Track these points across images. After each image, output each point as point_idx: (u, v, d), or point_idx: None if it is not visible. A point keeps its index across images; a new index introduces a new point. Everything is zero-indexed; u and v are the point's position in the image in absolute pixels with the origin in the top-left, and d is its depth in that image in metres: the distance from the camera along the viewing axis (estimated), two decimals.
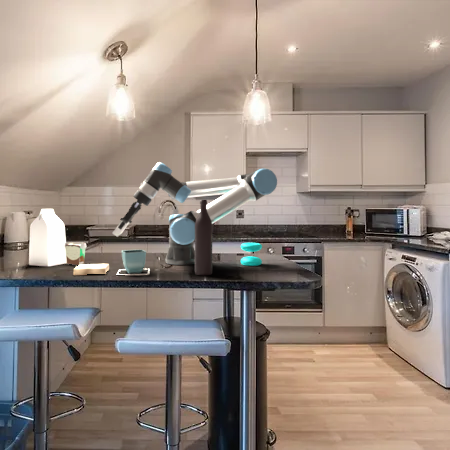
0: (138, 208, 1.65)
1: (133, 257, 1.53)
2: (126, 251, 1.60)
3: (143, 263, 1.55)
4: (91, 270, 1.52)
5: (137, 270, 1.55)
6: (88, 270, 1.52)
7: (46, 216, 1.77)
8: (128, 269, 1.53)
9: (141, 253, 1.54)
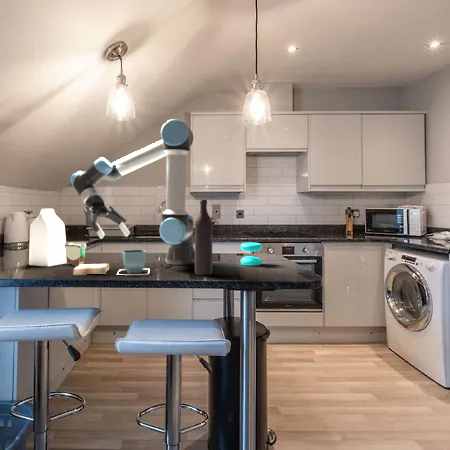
0: (96, 209, 1.65)
1: (133, 257, 1.53)
2: (126, 251, 1.60)
3: (143, 263, 1.55)
4: (91, 270, 1.52)
5: (137, 270, 1.55)
6: (88, 270, 1.52)
7: (46, 216, 1.77)
8: (128, 269, 1.53)
9: (141, 253, 1.54)
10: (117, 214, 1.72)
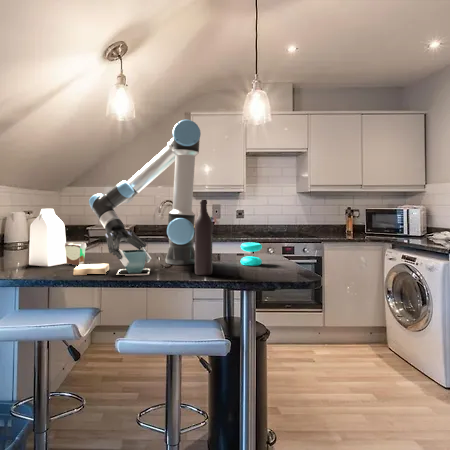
0: (117, 233, 1.59)
1: (133, 257, 1.53)
2: (127, 251, 1.60)
3: (143, 263, 1.55)
4: (91, 270, 1.52)
5: (137, 270, 1.55)
6: (88, 270, 1.52)
7: (46, 216, 1.77)
8: (128, 269, 1.53)
9: (141, 253, 1.54)
10: (137, 238, 1.65)
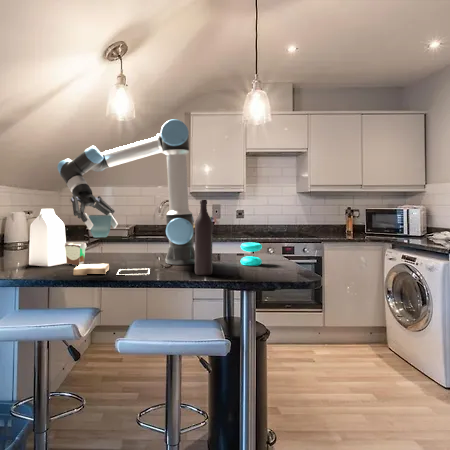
0: (84, 198, 1.58)
1: (98, 221, 1.52)
2: (93, 216, 1.59)
3: (108, 227, 1.54)
4: (91, 270, 1.52)
5: (102, 234, 1.54)
6: (88, 270, 1.52)
7: (46, 216, 1.77)
8: (93, 232, 1.52)
9: (106, 217, 1.53)
10: (105, 204, 1.64)
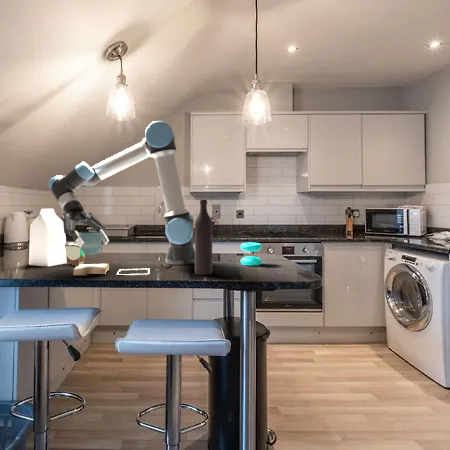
0: (74, 215, 1.58)
1: (89, 238, 1.53)
2: (84, 232, 1.60)
3: (99, 244, 1.54)
4: (91, 270, 1.52)
5: (93, 251, 1.54)
6: (88, 270, 1.52)
7: (46, 216, 1.77)
8: (83, 250, 1.53)
9: (97, 234, 1.53)
10: (96, 220, 1.65)
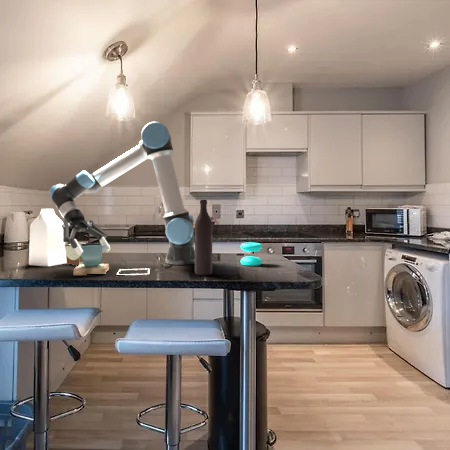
0: (75, 223, 1.59)
1: (90, 250, 1.53)
2: (84, 244, 1.60)
3: (100, 256, 1.55)
4: (91, 270, 1.52)
5: (93, 263, 1.54)
6: (88, 270, 1.52)
7: (46, 216, 1.77)
8: (84, 262, 1.53)
9: (97, 246, 1.54)
10: (98, 228, 1.65)
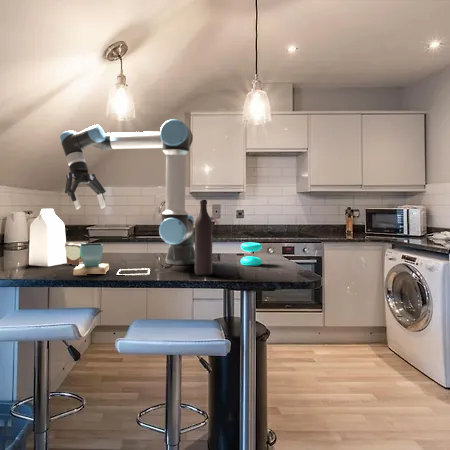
0: (79, 176, 1.68)
1: (89, 250, 1.53)
2: (84, 245, 1.60)
3: (100, 256, 1.55)
4: (91, 270, 1.52)
5: (93, 263, 1.54)
6: (88, 270, 1.52)
7: (46, 216, 1.77)
8: (84, 262, 1.53)
9: (97, 246, 1.54)
10: (98, 184, 1.76)
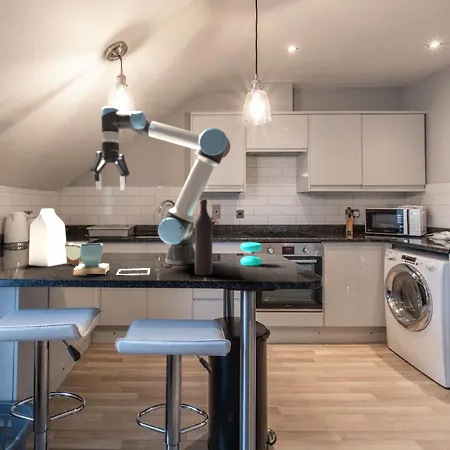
0: (108, 156, 1.70)
1: (90, 250, 1.53)
2: (84, 244, 1.60)
3: (100, 256, 1.55)
4: (91, 270, 1.52)
5: (93, 263, 1.54)
6: (88, 270, 1.52)
7: (46, 216, 1.77)
8: (84, 262, 1.53)
9: (97, 246, 1.54)
10: (124, 166, 1.78)
